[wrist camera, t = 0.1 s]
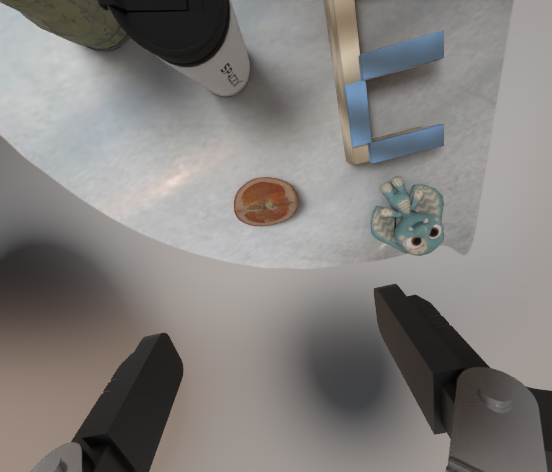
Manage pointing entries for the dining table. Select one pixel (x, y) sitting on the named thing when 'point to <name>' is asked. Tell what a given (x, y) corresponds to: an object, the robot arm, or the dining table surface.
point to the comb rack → (370, 65)
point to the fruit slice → (265, 202)
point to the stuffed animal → (410, 218)
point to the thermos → (74, 21)
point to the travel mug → (189, 38)
